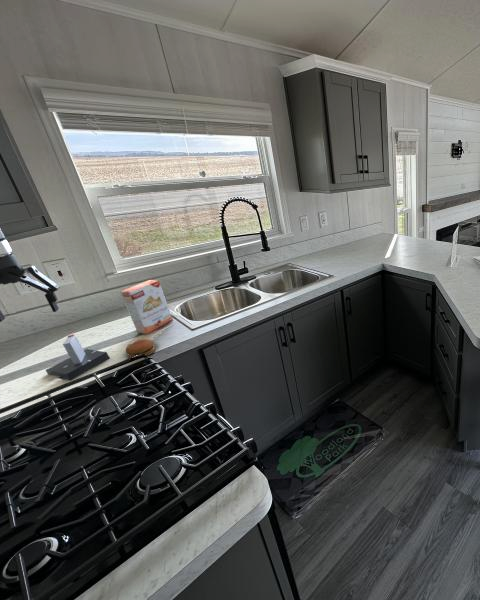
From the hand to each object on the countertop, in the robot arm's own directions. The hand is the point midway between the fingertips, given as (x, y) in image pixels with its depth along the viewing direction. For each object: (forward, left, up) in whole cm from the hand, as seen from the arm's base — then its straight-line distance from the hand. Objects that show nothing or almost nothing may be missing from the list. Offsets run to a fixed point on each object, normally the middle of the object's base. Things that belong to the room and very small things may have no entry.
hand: (29, 315), depth 112 cm
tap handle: (+5, -2, -22) cm, 22 cm away
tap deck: (+4, -2, -25) cm, 25 cm away
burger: (+17, -17, -25) cm, 35 cm away
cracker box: (+36, -2, -25) cm, 44 cm away
